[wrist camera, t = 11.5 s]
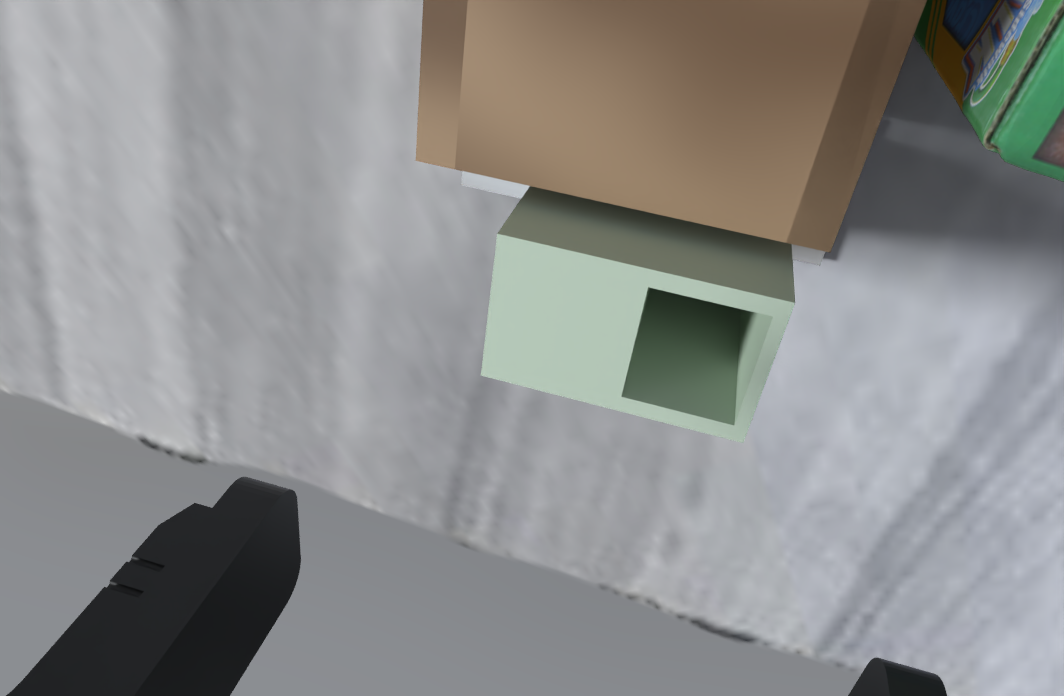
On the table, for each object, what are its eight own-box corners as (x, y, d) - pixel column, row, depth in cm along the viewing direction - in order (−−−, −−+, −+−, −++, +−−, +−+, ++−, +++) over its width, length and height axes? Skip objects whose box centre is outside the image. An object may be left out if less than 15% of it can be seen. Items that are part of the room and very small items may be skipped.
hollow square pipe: (599, 84, 26) (496, 233, 16) (784, 121, 25) (795, 302, 15) (577, 208, 28) (477, 402, 19) (745, 245, 28) (733, 469, 18)
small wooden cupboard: (512, -351, 21) (321, -493, 12) (1022, -284, 19) (1245, -392, 10) (466, 179, 29) (334, 328, 20) (819, 258, 28) (843, 458, 19)
